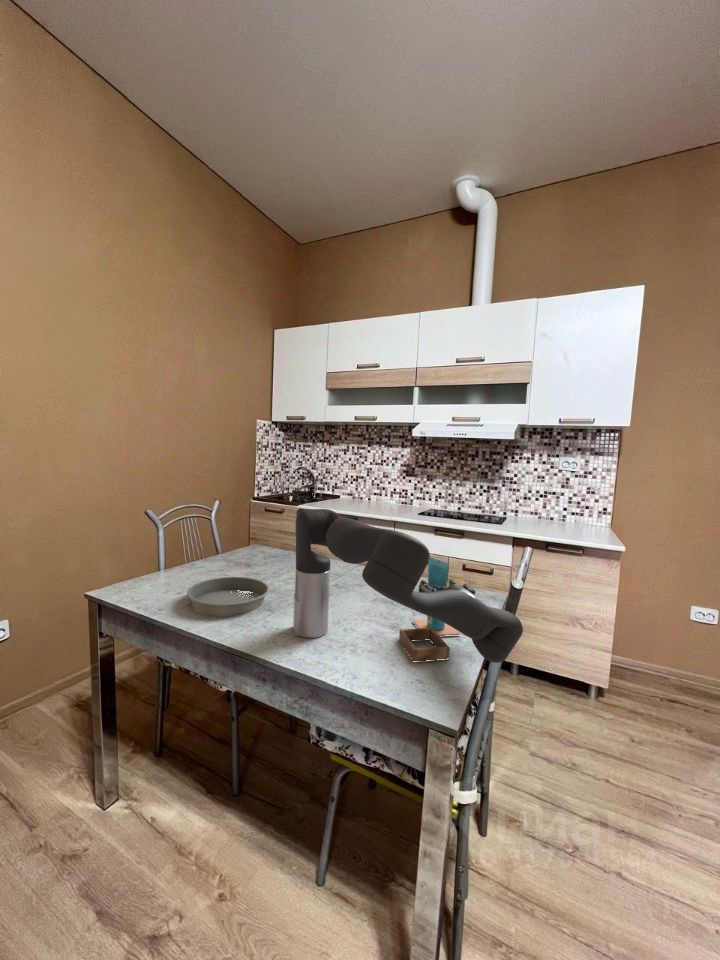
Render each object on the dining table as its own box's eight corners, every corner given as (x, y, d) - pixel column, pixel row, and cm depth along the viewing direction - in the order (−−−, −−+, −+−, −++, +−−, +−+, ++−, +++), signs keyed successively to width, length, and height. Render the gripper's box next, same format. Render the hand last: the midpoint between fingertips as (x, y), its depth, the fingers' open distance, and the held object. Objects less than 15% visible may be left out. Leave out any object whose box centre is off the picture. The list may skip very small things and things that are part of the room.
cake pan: (238, 625, 113) (239, 609, 112) (168, 610, 121) (168, 595, 120) (283, 596, 136) (283, 582, 136) (221, 584, 144) (221, 572, 144)
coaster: (425, 638, 110) (425, 635, 110) (412, 622, 120) (412, 619, 119) (459, 636, 112) (459, 633, 112) (444, 620, 122) (444, 618, 122)
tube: (451, 628, 115) (454, 561, 113) (441, 633, 111) (444, 564, 109) (429, 619, 120) (432, 555, 118) (419, 624, 116) (422, 558, 115)
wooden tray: (413, 662, 97) (414, 650, 97) (399, 640, 108) (399, 629, 107) (449, 659, 99) (449, 648, 99) (431, 638, 110) (432, 627, 109)
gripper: (489, 589, 102) (459, 569, 118) (436, 591, 99) (413, 570, 114) (487, 618, 102) (458, 595, 118) (434, 621, 99) (411, 596, 115)
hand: (436, 583), depth 116 cm, fingers open, 8 cm apart
